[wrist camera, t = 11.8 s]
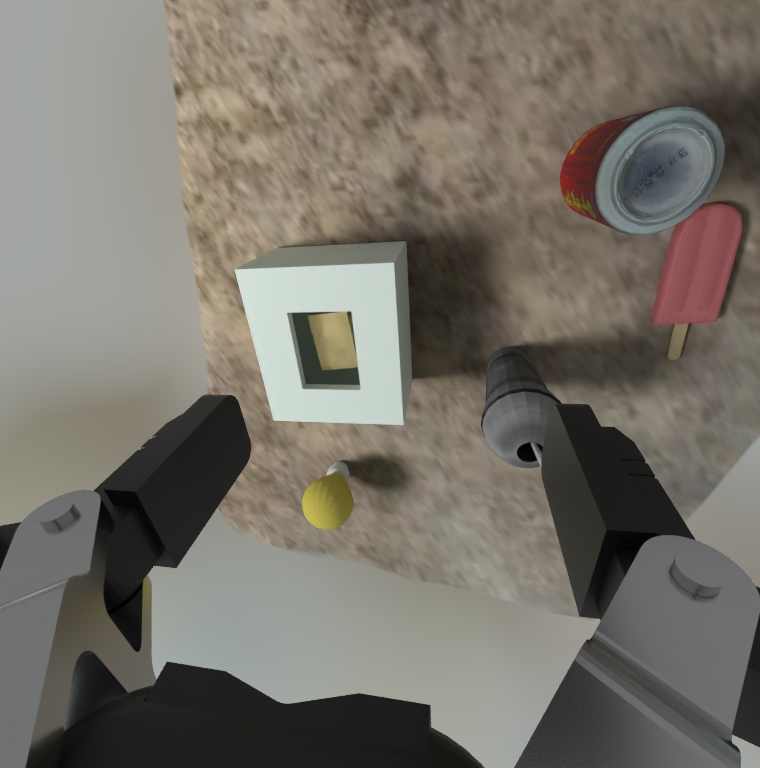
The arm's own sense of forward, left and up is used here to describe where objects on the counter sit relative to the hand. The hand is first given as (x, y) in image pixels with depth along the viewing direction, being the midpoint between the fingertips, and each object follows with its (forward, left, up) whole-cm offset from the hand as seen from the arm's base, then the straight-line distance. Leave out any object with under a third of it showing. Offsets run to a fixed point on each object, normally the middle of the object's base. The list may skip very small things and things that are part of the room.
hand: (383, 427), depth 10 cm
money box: (+9, -10, -33) cm, 36 cm away
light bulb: (+32, -14, -33) cm, 48 cm away
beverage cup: (+15, +8, -33) cm, 37 cm away
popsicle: (+7, +24, -34) cm, 42 cm away
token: (+9, -10, -30) cm, 32 cm away
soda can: (-4, +14, -33) cm, 36 cm away
